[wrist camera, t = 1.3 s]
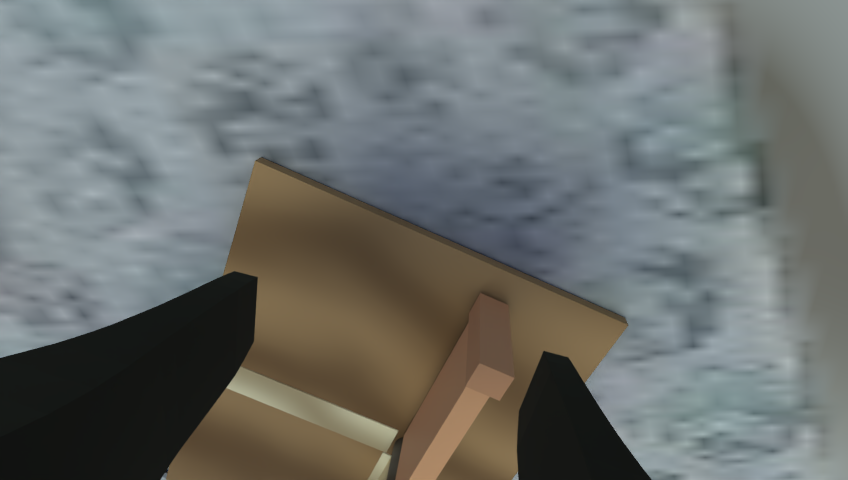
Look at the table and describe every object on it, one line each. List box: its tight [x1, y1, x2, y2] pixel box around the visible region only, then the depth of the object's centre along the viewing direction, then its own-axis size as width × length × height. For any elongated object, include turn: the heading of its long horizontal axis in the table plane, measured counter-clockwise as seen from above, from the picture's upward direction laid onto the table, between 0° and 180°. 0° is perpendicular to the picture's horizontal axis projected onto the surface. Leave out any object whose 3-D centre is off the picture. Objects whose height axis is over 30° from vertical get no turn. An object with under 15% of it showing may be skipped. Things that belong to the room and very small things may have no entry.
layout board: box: [166, 157, 628, 480], centre depth 26 cm, size 22×18×1 cm
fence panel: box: [395, 293, 515, 480], centre depth 22 cm, size 10×1×5 cm, turn 157°
